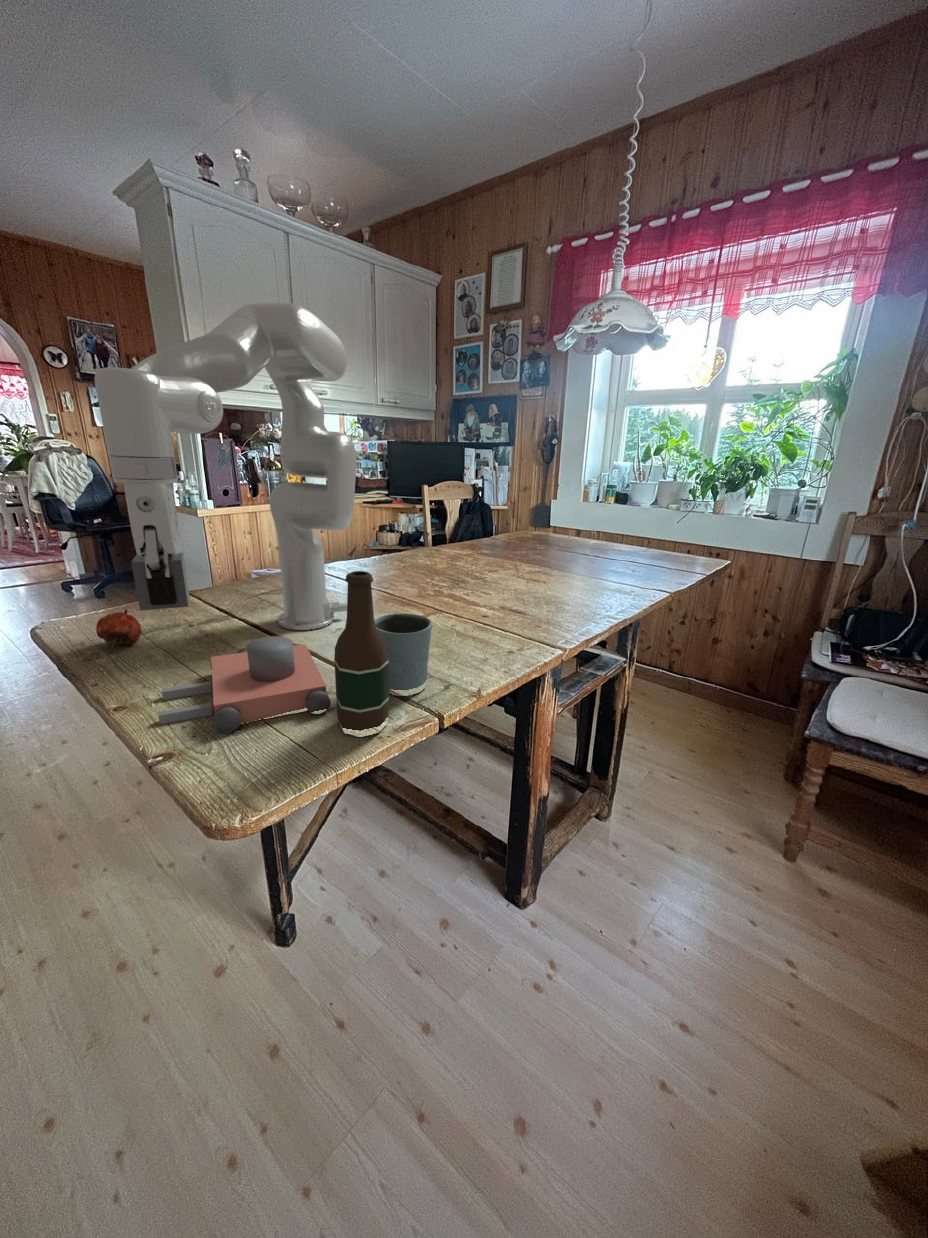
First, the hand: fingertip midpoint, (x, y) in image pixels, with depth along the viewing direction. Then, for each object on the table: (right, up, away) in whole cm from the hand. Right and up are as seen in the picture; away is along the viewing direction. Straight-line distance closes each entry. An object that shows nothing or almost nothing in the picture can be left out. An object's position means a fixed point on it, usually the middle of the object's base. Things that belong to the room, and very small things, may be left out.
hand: (165, 597), depth 72 cm
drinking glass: (+33, -15, +15) cm, 40 cm away
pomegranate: (-24, -9, +25) cm, 36 cm away
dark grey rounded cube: (0, -1, 0) cm, 1 cm away
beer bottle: (+29, -20, +3) cm, 35 cm away
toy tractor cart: (+8, -16, +9) cm, 20 cm away
